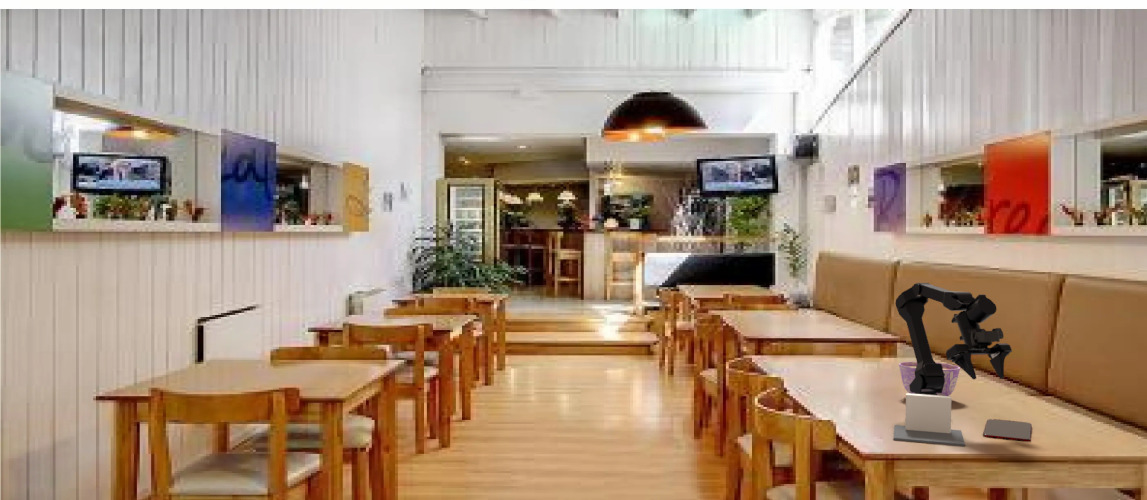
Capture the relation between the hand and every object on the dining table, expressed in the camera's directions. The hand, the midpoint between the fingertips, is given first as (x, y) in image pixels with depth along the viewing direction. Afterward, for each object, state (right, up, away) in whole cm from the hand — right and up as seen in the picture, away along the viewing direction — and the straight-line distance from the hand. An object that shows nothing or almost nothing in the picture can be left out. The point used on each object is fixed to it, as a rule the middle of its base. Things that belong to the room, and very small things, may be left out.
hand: (988, 378), depth 262 cm
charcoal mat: (-21, -15, -8) cm, 27 cm away
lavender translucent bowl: (+3, -15, +53) cm, 55 cm away
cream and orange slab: (-19, -14, -4) cm, 24 cm away
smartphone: (+6, -16, 0) cm, 17 cm away
